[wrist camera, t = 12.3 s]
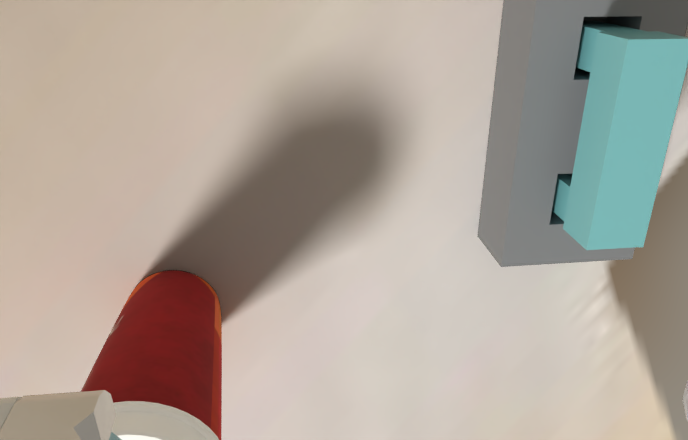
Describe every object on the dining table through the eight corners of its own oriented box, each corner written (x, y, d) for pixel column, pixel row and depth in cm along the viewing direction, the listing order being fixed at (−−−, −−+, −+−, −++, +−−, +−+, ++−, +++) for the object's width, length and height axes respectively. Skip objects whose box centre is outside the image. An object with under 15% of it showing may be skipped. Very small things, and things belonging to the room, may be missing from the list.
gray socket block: (508, -42, 30) (541, -41, 27) (651, -41, 31) (702, -40, 28) (477, 236, 37) (501, 266, 34) (596, 229, 38) (632, 258, 34)
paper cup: (83, 287, 35) (-15, 476, 22) (198, 233, 35) (163, 395, 22) (154, 378, 38) (103, 587, 26) (260, 330, 38) (260, 519, 25)
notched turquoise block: (553, 21, 31) (628, 39, 25) (606, 21, 32) (693, 38, 25) (528, 196, 35) (586, 250, 29) (575, 194, 36) (643, 246, 29)
